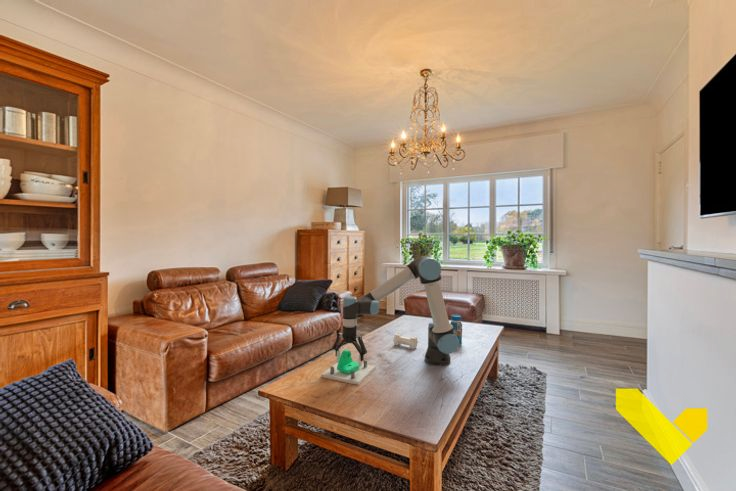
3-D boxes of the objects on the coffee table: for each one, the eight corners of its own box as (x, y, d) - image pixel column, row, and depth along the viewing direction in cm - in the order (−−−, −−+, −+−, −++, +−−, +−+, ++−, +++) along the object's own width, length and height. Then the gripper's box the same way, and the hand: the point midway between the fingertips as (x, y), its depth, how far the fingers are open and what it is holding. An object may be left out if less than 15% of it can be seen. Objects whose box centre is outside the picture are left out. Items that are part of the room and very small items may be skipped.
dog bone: (418, 348, 227) (418, 335, 227) (412, 350, 220) (413, 337, 220) (398, 343, 235) (399, 332, 235) (392, 346, 228) (393, 333, 228)
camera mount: (348, 375, 177) (348, 356, 177) (336, 371, 182) (337, 353, 181) (361, 368, 187) (361, 349, 187) (350, 364, 192) (350, 346, 191)
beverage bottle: (448, 345, 231) (449, 316, 230) (450, 341, 239) (450, 313, 238) (461, 347, 228) (462, 317, 227) (462, 343, 236) (463, 314, 235)
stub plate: (375, 368, 190) (375, 360, 190) (358, 384, 170) (359, 375, 170) (340, 362, 199) (341, 353, 199) (321, 376, 179) (321, 367, 179)
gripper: (373, 326, 182) (372, 365, 183) (333, 321, 192) (332, 358, 193) (367, 330, 175) (367, 370, 176) (326, 324, 185) (326, 363, 186)
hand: (349, 364), depth 184 cm, fingers open, 13 cm apart
